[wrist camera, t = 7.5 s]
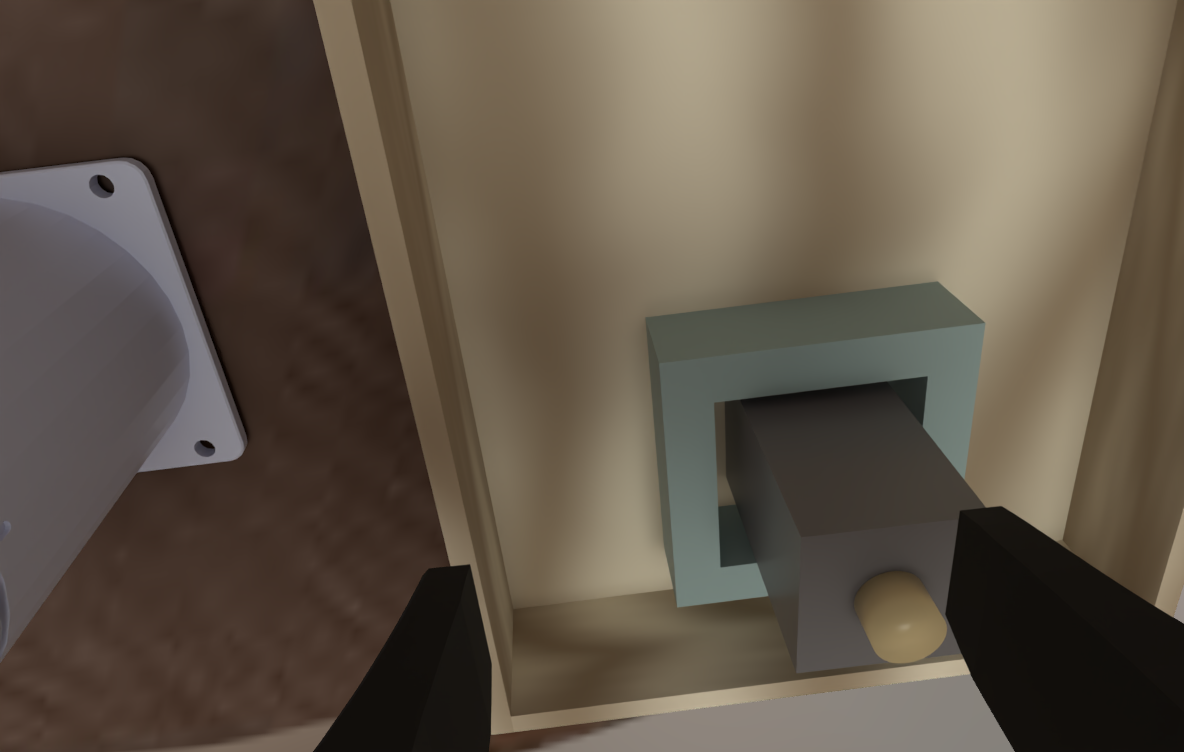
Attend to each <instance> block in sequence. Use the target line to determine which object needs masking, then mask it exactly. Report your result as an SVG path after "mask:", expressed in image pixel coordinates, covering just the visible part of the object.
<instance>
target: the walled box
mask: <svg viewBox="0 0 1184 752" xmlns="http://www.w3.org/2000/svg"><path fill="white" fill-rule="evenodd" d="M313 2H314V6H315V10H316V14H317V18H318V22H319V26H320V30H321V34H322V39H323V43H324V47H325V51H326V55H327V59H328V63H329V67H330V72H331V76H332V80H333V84H334V88H335V92H336V96H337V100H338V104H339V109H340V113H341V117H342V121H343V125H344V129H345V133H346V137H347V142H348V146H349V150H350V154H351V158H352V162H353V166H354V170H355V174H356V179H357V183H358V187H359V191H360V195H361V199H362V203H363V207H364V212H365V216H366V220H367V224H368V228H369V232H370V236H371V240H372V244H373V249H374V253H375V257H376V261H377V265H378V269H379V273H380V277H381V282H382V286H383V290H384V294H385V298H386V302H387V306H388V310H389V314H390V319H391V323H392V327H393V331H394V335H395V339H396V343H397V347H398V352H399V356H400V360H401V364H402V368H403V372H404V376H405V380H406V384H407V389H408V393H409V397H410V401H411V405H412V409H413V413H414V417H415V422H416V426H417V430H418V434H419V438H420V442H421V446H422V450H423V454H424V459H425V463H426V467H427V471H428V475H429V479H430V483H431V487H432V492H433V496H434V500H435V504H436V508H437V512H438V516H439V520H440V524H441V529H442V533H443V537H444V541H445V545H446V549H447V553H448V557H449V562H450V566H458V565H467V564H470V566H471V570H472V575H473V579H474V584H475V588H476V593H477V598H478V602H479V607H480V611H481V616H482V621H483V625H484V630H485V634H486V639H487V644H488V648H489V653H490V657H491V662H492V707H491V734H492V735H495V734H503V733H511V732H518V731H526V730H534V729H542V728H550V727H558V726H566V725H573V724H581V723H589V722H597V721H605V720H613V719H621V718H628V717H636V716H644V715H652V714H660V713H668V712H676V711H683V710H691V709H699V708H707V707H714V706H722V705H730V704H738V703H746V702H754V701H762V700H770V699H777V698H786V697H793V696H801V695H808V694H817V693H825V692H832V691H841V690H849V689H856V688H864V687H871V686H880V685H888V684H896V683H903V682H911V681H919V680H927V679H935V678H943V677H951V676H958V675H966V674H970V672H969V669H968V667H967V665H966V663H965V660H964V658H963V656H962V654H956V655H948V656H939V657H931V658H923V659H920V660H918V661H914V662H910V663H891V662H889V663H880V664H872V665H864V666H855V667H847V668H838V669H830V670H821V671H813V672H805V673H796V671H795V669H794V666H793V663H792V660H791V657H790V654H789V652H788V649H787V646H786V643H785V640H784V638H783V635H782V632H781V629H780V626H779V624H778V621H777V618H776V615H775V612H774V610H773V607H772V604H771V601H770V598H769V596H765V597H757V598H749V599H741V600H733V601H725V602H717V603H709V604H701V605H693V606H686V607H678V608H677V604H676V599H675V595H674V590H673V585H672V581H671V576H670V572H669V567H668V562H667V558H666V553H665V549H664V540H663V528H662V516H661V503H660V491H659V479H658V466H657V454H656V442H655V429H654V417H653V405H652V392H651V380H650V368H649V355H648V343H647V331H646V318H645V317H653V316H661V315H669V314H678V313H686V312H694V311H702V310H710V309H718V308H726V307H734V306H742V305H750V304H759V303H767V302H775V301H783V300H791V299H799V298H807V297H815V296H823V295H832V294H840V293H848V292H856V291H864V290H872V289H880V288H888V287H896V286H905V285H913V284H921V283H929V282H937V281H938V282H939V283H940V284H941V285H942V286H944V287H945V288H946V289H947V290H948V291H949V292H950V293H952V294H953V295H954V296H955V297H956V298H957V299H959V300H960V301H961V302H962V303H963V304H964V305H965V306H967V307H968V308H969V309H970V310H971V311H972V312H973V313H975V314H976V315H977V316H978V317H979V318H980V319H982V320H983V321H984V322H985V331H984V338H983V346H982V353H981V360H980V368H979V375H978V383H977V390H976V398H975V405H974V412H973V420H972V427H971V435H970V442H969V449H968V457H967V464H966V472H965V479H964V480H965V481H966V483H967V484H968V485H969V486H970V488H971V489H972V490H973V491H974V493H975V494H976V495H977V497H978V498H979V499H980V500H981V502H982V503H983V504H984V505H985V507H986V508H987V507H996V506H1003V507H1004V508H1006V509H1007V510H1009V511H1011V512H1012V513H1014V514H1015V515H1017V516H1019V517H1020V518H1022V519H1023V520H1025V521H1026V522H1028V523H1029V524H1031V525H1032V526H1034V527H1035V528H1037V529H1038V530H1040V531H1041V532H1043V533H1044V534H1046V535H1047V536H1049V537H1050V538H1052V539H1053V540H1055V541H1056V542H1057V543H1059V544H1060V545H1062V546H1063V547H1065V548H1066V549H1068V550H1069V551H1071V552H1072V553H1074V554H1075V555H1077V556H1078V557H1080V558H1081V559H1083V560H1084V561H1086V562H1087V563H1089V564H1090V565H1092V566H1093V567H1095V568H1096V569H1098V570H1099V571H1101V572H1102V573H1104V574H1105V575H1107V576H1108V577H1110V578H1111V579H1113V580H1115V581H1116V582H1118V583H1119V584H1121V585H1122V586H1124V587H1125V588H1127V589H1128V590H1130V591H1132V592H1133V593H1135V594H1136V595H1138V596H1139V597H1141V598H1143V599H1144V600H1146V601H1147V602H1149V603H1151V604H1152V605H1154V606H1155V607H1157V608H1159V609H1160V610H1162V611H1164V612H1165V613H1167V614H1168V615H1170V616H1172V617H1174V613H1175V610H1176V607H1177V604H1178V601H1179V597H1180V594H1181V591H1182V588H1183V585H1184V0H313ZM714 416H715V441H716V466H717V491H718V507H720V506H728V505H736V503H735V500H734V498H733V495H732V492H731V489H730V486H729V484H728V481H727V478H726V445H725V401H724V402H716V403H714Z"/></svg>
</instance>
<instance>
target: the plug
mask: <svg viewBox="0 0 1184 752" xmlns="http://www.w3.org/2000/svg"><path fill="white" fill-rule="evenodd" d="M725 445H726V478H727V481H728V484H729V486H730V489H731V492H732V495H733V498H734V500H735V503H736V506H737V509H738V512H739V514H740V517H741V520H742V523H743V526H744V528H745V531H746V534H747V537H748V540H749V542H750V545H751V548H752V551H753V554H754V556H755V559H756V562H757V565H758V568H759V570H760V573H761V576H762V579H763V582H764V584H765V587H766V590H767V593H768V596H769V598H770V601H771V604H772V607H773V610H774V612H775V615H776V618H777V621H778V624H779V626H780V629H781V632H782V635H783V638H784V640H785V643H786V646H787V649H788V652H789V654H790V657H791V660H792V663H793V666H794V669H795V671H796V673H805V672H813V671H821V670H830V669H838V668H847V667H855V666H864V665H872V664H880V663H889V662H891V663H910V662H914V661H918V660H920V659H923V658H931V657H939V656H948V655H956V654H961V651H960V649H959V647H958V644H957V642H956V639H955V637H954V635H953V632H952V630H951V627H950V625H949V622H948V620H947V618H946V615H945V612H946V605H947V598H948V591H949V584H950V577H951V570H952V563H953V556H954V549H955V541H956V534H957V527H958V520H959V513H960V510H968V509H978V508H986V507H985V505H984V504H983V503H982V502H981V500H980V499H979V498H978V497H977V495H976V494H975V493H974V491H973V490H972V489H971V488H970V486H969V485H968V484H967V483H966V481H965V480H964V479H963V477H962V476H961V475H960V474H959V472H958V471H957V470H956V469H955V467H954V466H953V465H952V463H951V462H950V461H949V460H948V458H947V457H946V456H945V455H944V453H943V452H942V451H941V449H940V448H939V447H938V446H937V444H936V443H935V442H934V441H933V439H932V438H931V437H930V435H929V434H928V433H927V432H926V430H925V429H924V428H923V427H922V425H921V424H920V423H919V421H918V420H917V419H916V418H915V416H914V415H913V414H912V413H911V411H910V410H909V409H908V407H907V406H906V405H905V404H904V402H903V401H902V400H901V399H900V397H899V396H898V395H897V393H896V392H895V391H894V390H893V388H892V387H891V386H890V385H889V383H888V382H887V381H885V382H877V383H869V384H861V385H853V386H844V387H836V388H828V389H820V390H812V391H804V392H796V393H788V394H780V395H772V396H764V397H756V398H748V399H740V400H732V401H725Z"/></svg>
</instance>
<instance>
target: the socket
mask: <svg viewBox="0 0 1184 752" xmlns="http://www.w3.org/2000/svg"><path fill="white" fill-rule="evenodd" d="M645 318H646V331H647V343H648V355H649V368H650V380H651V392H652V405H653V417H654V429H655V442H656V454H657V466H658V479H659V491H660V503H661V516H662V528H663V540H664V549H665V553H666V558H667V562H668V567H669V572H670V576H671V581H672V585H673V590H674V595H675V599H676V604H677V608H678V607H686V606H693V605H701V604H709V603H717V602H725V601H733V600H741V599H749V598H757V597H765V596H768V593H767V590H766V587H765V584H764V582H763V579H762V576H761V573H760V570H759V568H758V565H757V562H756V559H755V556H754V554H753V551H752V548H751V545H750V542H749V540H748V537H747V534H746V531H745V528H744V526H743V523H742V520H741V517H740V514H739V512H738V509H737V506H736V505H728V506H720V507H718V491H717V466H716V441H715V416H714V403H716V402H724V401H732V400H740V399H748V398H756V397H764V396H772V395H780V394H788V393H796V392H804V391H812V390H820V389H828V388H836V387H844V386H853V385H861V384H869V383H877V382H885V381H887V382H888V383H889V385H890V386H891V387H892V388H893V390H894V391H895V392H896V393H897V395H898V396H899V397H900V399H901V400H902V401H903V402H904V404H905V405H906V406H907V407H908V409H909V410H910V411H911V413H912V414H913V415H914V416H915V418H916V419H917V420H918V421H919V423H920V424H921V425H922V427H923V428H924V429H925V430H926V432H927V433H928V434H929V435H930V437H931V438H932V439H933V441H934V442H935V443H936V444H937V446H938V447H939V448H940V449H941V451H942V452H943V453H944V455H945V456H946V457H947V458H948V460H949V461H950V462H951V463H952V465H953V466H954V467H955V469H956V470H957V471H958V472H959V474H960V475H961V476H962V477H963V479H965V472H966V464H967V457H968V449H969V442H970V435H971V427H972V420H973V412H974V405H975V398H976V390H977V383H978V375H979V368H980V360H981V353H982V346H983V338H984V331H985V322H984V321H983V320H982V319H980V318H979V317H978V316H977V315H976V314H975V313H973V312H972V311H971V310H970V309H969V308H968V307H967V306H965V305H964V304H963V303H962V302H961V301H960V300H959V299H957V298H956V297H955V296H954V295H953V294H952V293H950V292H949V291H948V290H947V289H946V288H945V287H944V286H942V285H941V284H940V283H939V282H938V281H937V282H929V283H921V284H913V285H905V286H896V287H888V288H880V289H872V290H864V291H856V292H848V293H840V294H832V295H823V296H815V297H807V298H799V299H791V300H783V301H775V302H767V303H759V304H750V305H742V306H734V307H726V308H718V309H710V310H702V311H694V312H686V313H678V314H669V315H661V316H653V317H645Z"/></svg>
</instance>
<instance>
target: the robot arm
mask: <svg viewBox="0 0 1184 752" xmlns="http://www.w3.org/2000/svg"><path fill="white" fill-rule="evenodd" d="M98 175H104V176H105V177H107V178H109V179H110V180H111V182H112V183H113V185H114V193H108V192H106V191H104V190H103V189H101V187H100V186H99V184H98V181H97V176H98ZM200 440H206V441H209V442H211V443H212V444H213V445H214V447H215V448H214V449H210V448H206V447H204V446H203V445H202V444H201V443H200ZM246 445H247V436H246V433H245V431H244V428H243V425H242V422H241V420H240V417H239V414H238V411H237V408H236V406H235V403H234V400H233V397H232V395H231V392H230V389H229V386H228V384H227V381H226V378H225V375H224V372H223V370H222V367H221V364H220V361H219V359H218V356H217V353H216V350H215V348H214V345H213V342H212V339H211V336H210V334H209V331H208V328H207V325H206V323H205V320H204V317H203V314H202V312H201V309H200V306H199V303H198V300H197V298H196V295H195V292H194V289H193V287H192V284H191V281H190V278H189V276H188V273H187V270H186V267H185V264H184V262H183V259H182V256H181V253H180V251H179V248H178V245H177V242H176V240H175V237H174V234H173V231H172V228H171V226H170V223H169V220H168V217H167V215H166V212H165V209H164V206H163V204H162V201H161V198H160V195H159V192H158V190H157V187H156V184H155V181H154V179H153V176H152V174H151V173H150V171H149V169H148V168H147V167H146V166H145V165H143V164H142V163H141V162H139V161H137V160H135V159H133V158H123V157H122V158H114V159H106V160H97V161H89V162H81V163H73V164H64V165H56V166H48V167H40V168H31V169H23V170H15V171H7V172H0V662H1V661H2V660H3V658H4V657H5V655H6V654H7V653H8V651H9V650H10V648H11V647H12V646H13V644H14V643H15V642H16V640H17V639H18V637H19V636H20V635H21V633H22V632H23V630H24V629H25V628H26V626H27V625H28V623H29V622H30V621H31V619H32V618H33V616H34V615H35V614H36V612H37V611H38V610H39V608H40V607H41V605H42V604H43V603H44V601H45V600H46V598H47V597H48V596H49V594H50V593H51V591H52V590H53V589H54V587H55V586H56V585H57V583H58V582H59V580H60V579H61V578H62V576H63V575H64V573H65V572H66V571H67V569H68V568H69V566H70V565H71V564H72V562H73V561H74V559H75V558H76V557H77V555H78V554H79V553H80V551H81V550H82V548H83V547H84V546H85V544H86V543H87V541H88V540H89V539H90V537H91V536H92V534H93V533H94V532H95V530H96V529H97V527H98V526H99V525H100V523H101V522H102V521H103V519H104V518H105V516H106V515H107V514H108V512H109V511H110V509H111V508H112V507H113V505H114V504H115V502H116V501H117V500H118V498H119V497H120V496H121V494H122V493H123V491H124V490H125V489H126V487H127V486H128V484H129V483H130V482H131V480H132V479H133V477H134V476H135V475H136V473H137V472H145V471H153V470H161V469H169V468H177V467H186V466H194V465H202V464H210V463H218V462H226V461H232V460H235V459H237V458H239V457H240V456H241V455H242V454H243V452H244V450H245V448H246ZM945 615H946V618H947V620H948V622H949V625H950V627H951V630H952V632H953V635H954V637H955V639H956V642H957V644H958V647H959V649H960V651H961V654H962V656H963V658H964V660H965V663H966V665H967V667H968V669H969V672H970V674H971V676H972V678H973V680H974V682H975V683H976V686H977V687H978V689H979V691H980V693H981V694H982V696H983V698H984V699H985V701H986V703H987V705H988V706H989V708H990V710H991V712H992V713H993V715H994V717H995V718H996V720H997V722H998V723H999V725H1000V727H1001V729H1002V731H1003V732H1004V734H1005V736H1006V737H1007V739H1008V741H1009V742H1010V744H1011V746H1012V747H1013V749H1014V751H1015V752H1184V624H1183V623H1182V622H1180V621H1178V620H1177V619H1175V618H1173V617H1172V616H1170V615H1168V614H1167V613H1165V612H1164V611H1162V610H1160V609H1159V608H1157V607H1155V606H1154V605H1152V604H1151V603H1149V602H1147V601H1146V600H1144V599H1143V598H1141V597H1139V596H1138V595H1136V594H1135V593H1133V592H1132V591H1130V590H1128V589H1127V588H1125V587H1124V586H1122V585H1121V584H1119V583H1118V582H1116V581H1115V580H1113V579H1111V578H1110V577H1108V576H1107V575H1105V574H1104V573H1102V572H1101V571H1099V570H1098V569H1096V568H1095V567H1093V566H1092V565H1090V564H1089V563H1087V562H1086V561H1084V560H1083V559H1081V558H1080V557H1078V556H1077V555H1075V554H1074V553H1072V552H1071V551H1069V550H1068V549H1066V548H1065V547H1063V546H1062V545H1060V544H1059V543H1057V542H1056V541H1055V540H1053V539H1052V538H1050V537H1049V536H1047V535H1046V534H1044V533H1043V532H1041V531H1040V530H1038V529H1037V528H1035V527H1034V526H1032V525H1031V524H1029V523H1028V522H1026V521H1025V520H1023V519H1022V518H1020V517H1019V516H1017V515H1015V514H1014V513H1012V512H1011V511H1009V510H1007V509H1006V508H1004V507H1003V506H996V507H987V508H978V509H968V510H960V513H959V520H958V527H957V534H956V541H955V549H954V556H953V563H952V570H951V577H950V584H949V591H948V598H947V605H946V612H945ZM491 707H492V662H491V657H490V653H489V648H488V644H487V639H486V634H485V630H484V625H483V621H482V616H481V611H480V607H479V602H478V598H477V593H476V588H475V584H474V579H473V575H472V570H471V566H470V564H467V565H458V566H449V567H439V568H430V569H428V570H427V571H426V573H425V574H424V575H423V576H422V578H421V580H420V582H419V584H418V586H417V588H416V590H415V592H414V593H413V595H412V597H411V599H410V601H409V603H408V605H407V607H406V608H405V610H404V612H403V614H402V616H401V617H400V619H399V621H398V623H397V624H396V626H395V628H394V630H393V631H392V633H391V635H390V636H389V638H388V640H387V642H386V643H385V645H384V647H383V648H382V650H381V651H380V653H379V655H378V656H377V658H376V660H375V661H374V663H373V664H372V666H371V668H370V669H369V671H368V672H367V674H366V676H365V677H364V679H363V680H362V682H361V684H360V685H359V687H358V688H357V690H356V691H355V693H354V694H353V696H352V697H351V699H350V700H349V702H348V703H347V704H346V706H345V707H344V709H343V710H342V712H341V713H340V715H339V716H338V717H337V719H336V720H335V722H334V723H333V725H332V726H331V727H330V729H329V730H328V732H327V733H326V735H325V736H324V738H323V739H322V741H321V742H320V743H319V745H318V746H317V747H316V749H315V750H314V751H313V752H489V744H490V735H491Z"/></svg>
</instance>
